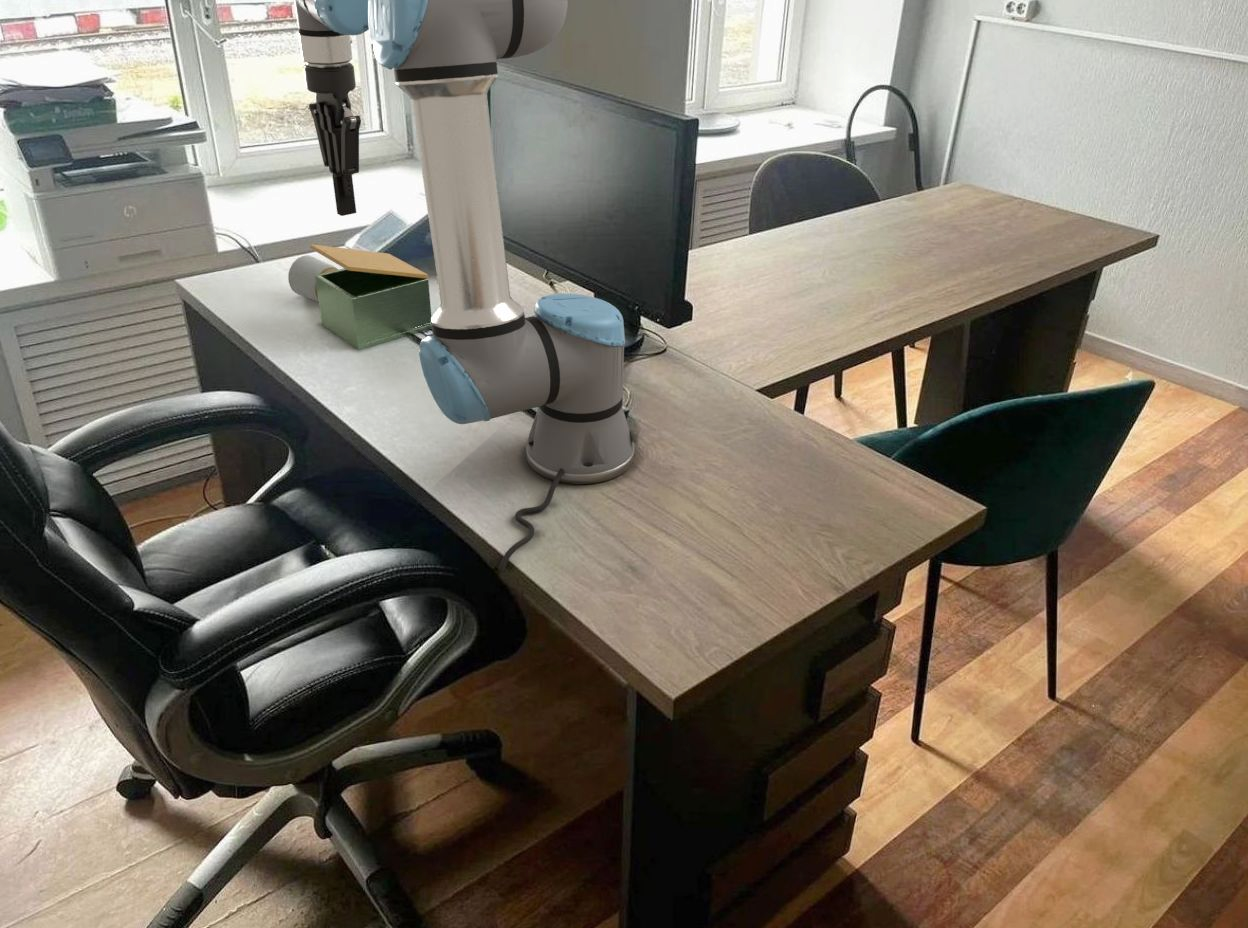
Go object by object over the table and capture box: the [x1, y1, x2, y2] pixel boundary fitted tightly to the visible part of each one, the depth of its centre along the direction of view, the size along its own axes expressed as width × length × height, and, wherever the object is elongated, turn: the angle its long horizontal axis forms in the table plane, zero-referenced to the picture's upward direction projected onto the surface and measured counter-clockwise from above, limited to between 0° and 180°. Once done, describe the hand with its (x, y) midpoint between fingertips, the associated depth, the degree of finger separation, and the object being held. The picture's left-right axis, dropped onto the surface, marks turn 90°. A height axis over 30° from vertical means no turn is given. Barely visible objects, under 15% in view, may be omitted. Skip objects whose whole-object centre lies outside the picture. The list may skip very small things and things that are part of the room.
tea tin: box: [315, 268, 433, 351], centre depth 177 cm, size 15×14×9 cm
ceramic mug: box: [287, 254, 340, 303], centre depth 188 cm, size 11×8×8 cm
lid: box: [309, 243, 429, 280], centre depth 173 cm, size 15×14×1 cm
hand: (346, 213), depth 167 cm, fingers closed
